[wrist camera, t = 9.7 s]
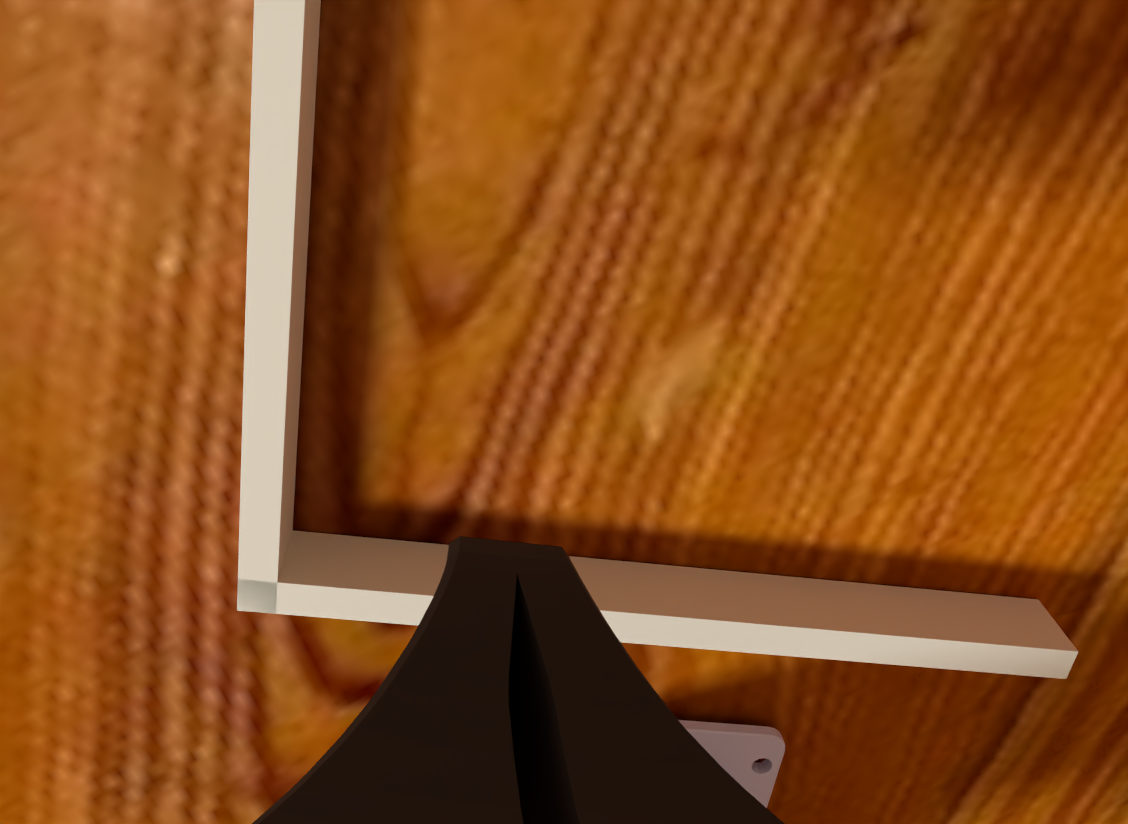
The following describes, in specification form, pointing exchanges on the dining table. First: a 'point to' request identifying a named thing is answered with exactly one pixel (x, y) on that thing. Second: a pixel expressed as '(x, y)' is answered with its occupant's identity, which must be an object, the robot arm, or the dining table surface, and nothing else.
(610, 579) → the white u-shaped open frame
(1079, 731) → the dining table surface
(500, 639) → the robot arm
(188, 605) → the dining table surface
